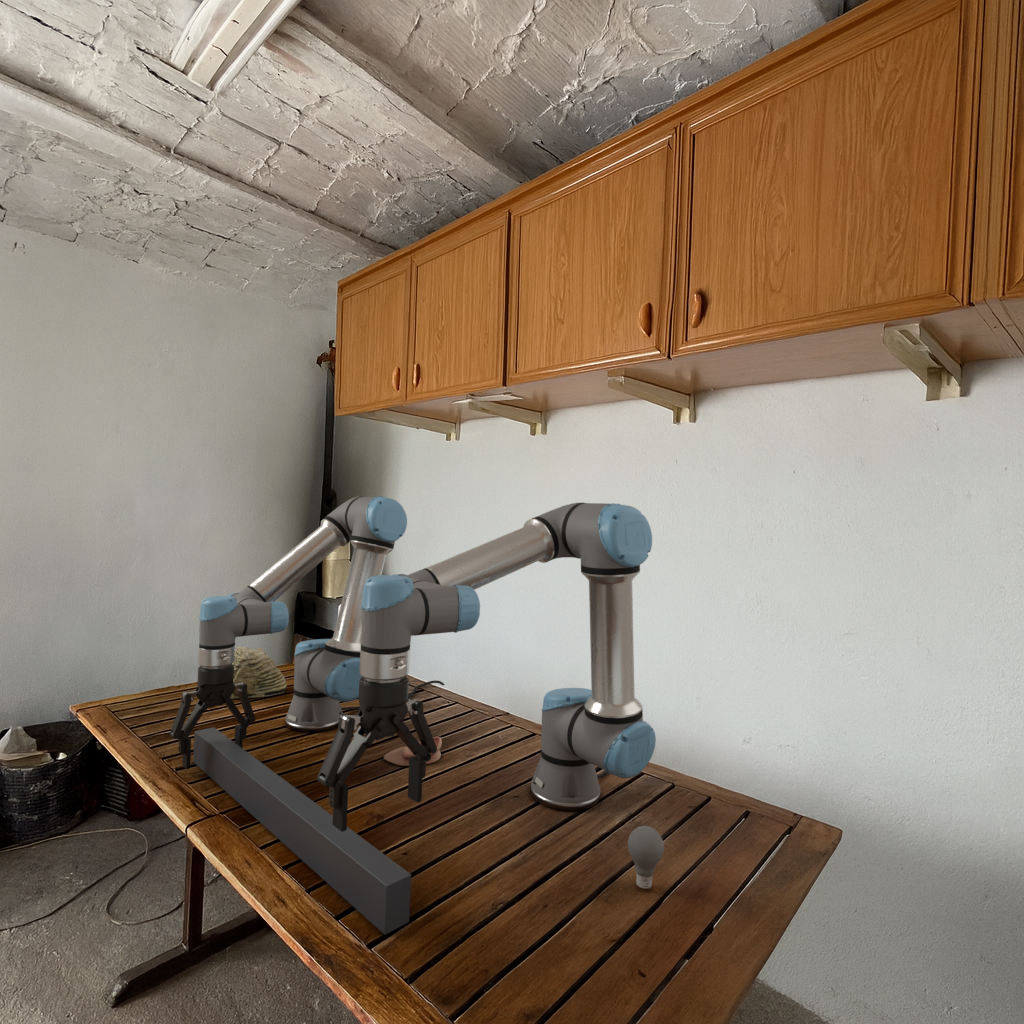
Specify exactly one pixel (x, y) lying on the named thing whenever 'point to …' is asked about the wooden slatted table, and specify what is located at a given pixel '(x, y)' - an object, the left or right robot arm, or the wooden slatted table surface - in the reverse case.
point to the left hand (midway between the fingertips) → (212, 760)
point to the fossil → (257, 673)
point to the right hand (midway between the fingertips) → (378, 812)
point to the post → (309, 832)
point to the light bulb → (645, 853)
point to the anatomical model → (411, 754)
